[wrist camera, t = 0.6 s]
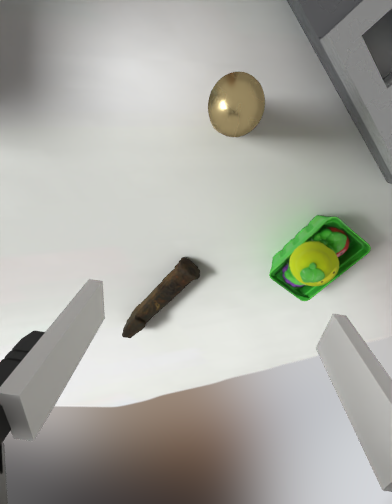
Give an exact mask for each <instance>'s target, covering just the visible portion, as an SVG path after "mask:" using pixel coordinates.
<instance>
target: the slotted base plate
mask: <svg viewBox="0 0 392 504" xmlns="http://www.w3.org/2000/svg"><path fill="white" fill-rule="evenodd" d="M287 1H288V3H289V5H290V7H291V8H292V10H293V12H294V14H295V16H296V17H297V19H298V21H299V23H300V25H301V27H302V28H303V30H304V32H305V34H306V36H307V37H308V39H309V41H310V43H311V45H312V47H313V48H314V50H315V52H316V54H317V56H318V57H319V59H320V61H321V63H322V65H323V66H324V68H325V70H326V72H327V74H328V76H329V77H330V79H331V81H332V83H333V85H334V86H335V88H336V90H337V92H338V94H339V96H340V97H341V99H342V101H343V103H344V105H345V106H346V108H347V110H348V112H349V114H350V116H351V117H352V119H353V121H354V123H355V125H356V126H357V128H358V130H359V132H360V134H361V135H362V137H363V139H364V141H365V143H366V145H367V146H368V148H369V150H370V152H371V154H372V155H373V157H374V159H375V161H376V163H377V165H378V166H379V168H380V170H381V172H382V174H383V175H384V177H385V179H386V181H387V182H388V183H392V73H390V74H389V75H388V76H387V77H385V78H384V79H382V77H381V75H380V73H379V70H378V68H377V66H376V64H375V62H374V60H373V58H372V56H371V54H370V52H369V50H368V48H367V45H366V43H365V41H364V39H363V37H362V35H363V34H364V33H365V32H366V31H367V30H368V29H369V28H371V27H372V26H373V25H374V24H375V23H376V22H377V21H378V20H379V19H381V18H382V17H383V16H384V15H385V14H386V13H387V12H388V11H390V10H391V9H392V0H287Z"/></svg>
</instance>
